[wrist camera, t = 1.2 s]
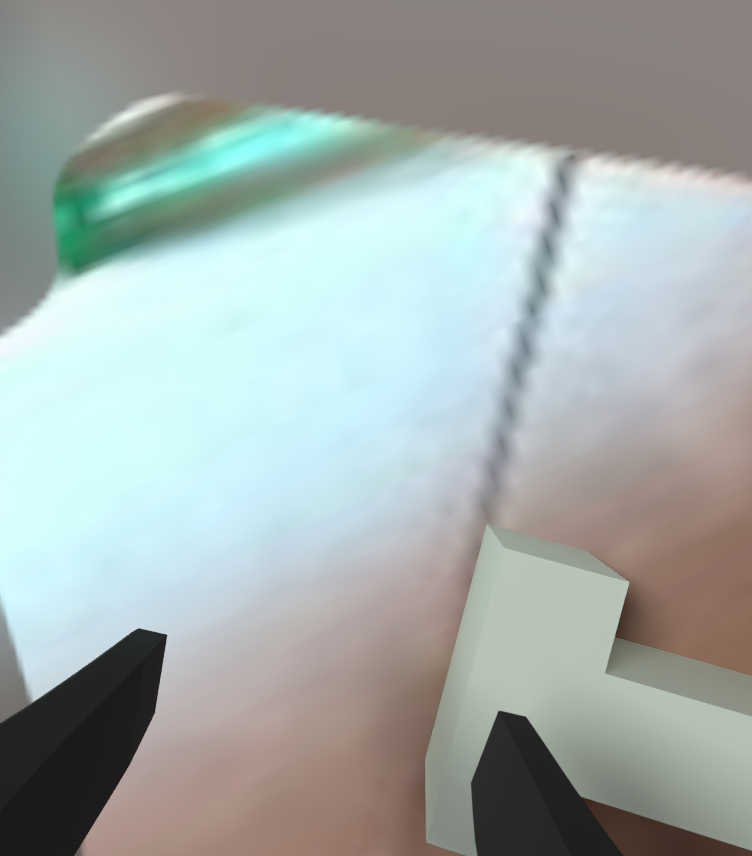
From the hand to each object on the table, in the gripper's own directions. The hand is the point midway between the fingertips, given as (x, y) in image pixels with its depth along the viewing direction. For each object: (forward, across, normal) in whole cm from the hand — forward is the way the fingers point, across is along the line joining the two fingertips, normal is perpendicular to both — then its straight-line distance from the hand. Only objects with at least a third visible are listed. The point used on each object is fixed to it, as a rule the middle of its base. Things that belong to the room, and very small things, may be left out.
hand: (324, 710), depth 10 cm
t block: (+8, -11, +4) cm, 14 cm away
